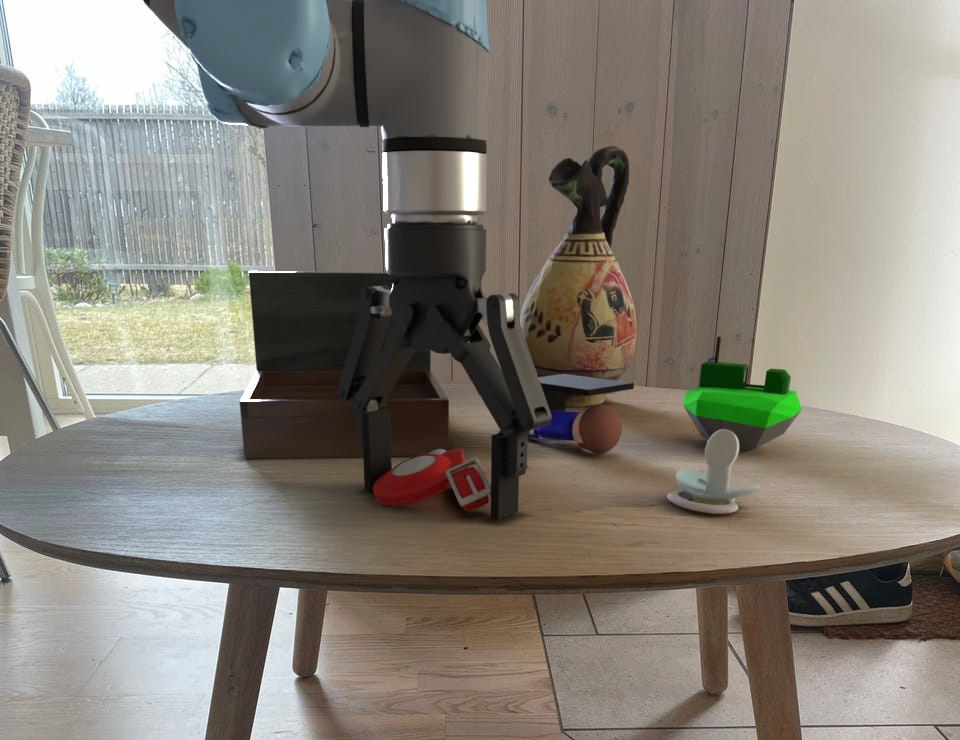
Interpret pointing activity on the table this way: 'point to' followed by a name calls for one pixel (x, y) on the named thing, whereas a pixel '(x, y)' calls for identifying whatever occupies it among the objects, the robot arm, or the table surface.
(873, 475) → the table surface
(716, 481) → the pacifier
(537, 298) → the ceramic jug
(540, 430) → the figurine character
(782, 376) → the toy tugboat
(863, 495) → the table surface
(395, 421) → the open wooden box
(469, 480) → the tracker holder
